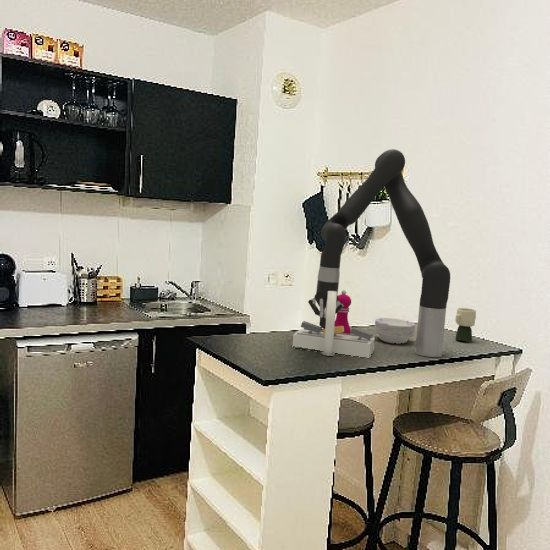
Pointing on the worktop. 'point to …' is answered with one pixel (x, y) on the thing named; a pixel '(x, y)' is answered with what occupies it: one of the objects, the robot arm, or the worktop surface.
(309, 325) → the paddle
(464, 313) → the character mug
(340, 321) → the pepper mill
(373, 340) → the breaker panel
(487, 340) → the worktop surface
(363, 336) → the paddle
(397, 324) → the paper bowls
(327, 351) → the post
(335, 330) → the block
